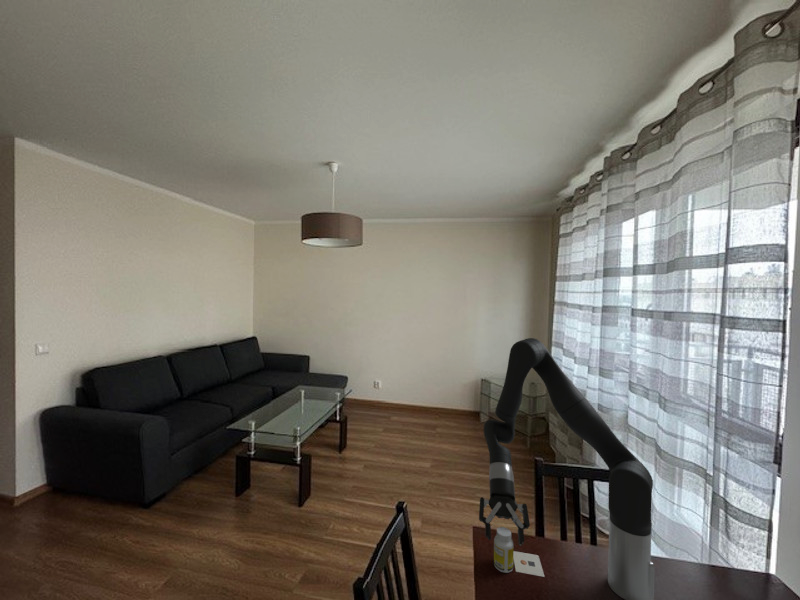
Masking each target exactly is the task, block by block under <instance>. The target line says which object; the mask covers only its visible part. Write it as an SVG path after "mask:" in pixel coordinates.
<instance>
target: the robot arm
mask: <svg viewBox="0 0 800 600" xmlns="http://www.w3.org/2000/svg"><path fill="white" fill-rule="evenodd" d="M531 369H533V370H534V371H535V372H536V374H537V375H538V376H539V377H540V379H541V380H542V382H543V384H544V386H545V388H546V389H547V393H548V396H549V399H550V401H551V404H552V406H553V407H554V409H555V411H556V412H557V414H558V415H559V417H561V419H562V420H563V422H564V423H565V424H566V426H567V427H568V429H570V430H571V431H572V432H573V433H574V434H575V435H576V436H578V437H579V438H580V439H581V440H583V441H584V442H585V443H587V445H590V447H592V449H593V450H595V452H596V453H597V454H598V455H599V456H600V458H601V459H602V460H603V462H604V463H605V465H606V466H607V467H608V470H609V471H610V474H609V478H608V505H607V506H608V511H609V525H608V531H609V532H608V556H607V557H608V558H607V559H608V560H607V583H608V586H609V587H610V589H611V590H612V591H613V593H615V594H616V595H617V596H619V597H620V598H622V599H623V600H655V599H654V598H655V597H654V596H655V595H654V594H655V591H654V590H655V564H654V563H653V561H652V560H651V559H652V554H651V551H652V524H653V523H652V503H653V502H652V501H653V500H652V499H653V498H652V495H653V489H654V488H653V487H654V480H653V476H652V475H651V473H650V471H649V469H647V467H646V466H645V465H644V464H643V463H642V462H641V461H640V460H639V459H638V458H637V457H636V456H635V455H634V454H633V453H632V452H631V451H630V450H629V449H628V448H627V447H626V446H625V445H624V444H623V443H622V442H621V440H619V439H618V437H617V436H616V434H615V433H614V432H613V431H612V429H611V428H610V426H608V424H607V422H605V420H604V419H603V418H602V416H600V414H599V413H598V412H597V410H596V409H595V408H594V407H593V405H592V404H591V403H590V402H589V400H588V399H587V398H586V396H584V394H583V393H582V392H581V391H580V389H578V388H577V386H575V384H574V383H573V382H572V380H571V379H570V378H569V377H568V376H567V375H566V374H565V372H564V371H563V370H562V368H561V367H560V365H558V363H557V361H556V359H554V357H553V356H552V355H551V352H550V351H549V350H548V348H547V347H546V346H545V344H544V343H543V342H542V341H540V340H539V339H537V338H532V337H529V338H528V337H527V338H524V339H521V340H519V341H516V342H515V343H513V345H512V346H511V348H510V351H509V356H508V363H507V367H506V373H505V379H504V383H503V386H502V391H501V393H500V396H499V399H498V402H497V404H496V407H495V415H496V418H498V419H500V420H497V419H493V418H491V419H487V420H486V421H485V422H484V425H483V436H484V439H485V441H486V445H487V449H488V452H489V453H488V454H489V470H488V471H489V473H488V476H489V477H488V479H489V499H487V498H484V497H482V496H481V497H480V498H479V508H478V509H479V512H478V521H479V522H482V523H484V526H485V529H484V531H485V537H486V538H487V540H488V541H492V540H491V539H492V529H491V528H492V527H491V526H492V525H491V522H492V521H493V520H494V518H495V517H496V518H498V519H504V520H510V519H511V521H512V523H513V524H514V525H515V526H516V528H517V540H518V541H517V543H518V546H519V547H520V546H521V547H522V546H523V544H524V543H525V533H524V531H525V530H528V529H529V528H530V526H531V524H530V518H529V510H528V506H527V503H522V504H521V503H517V501H516V492H515V478H514V473H513V464H512V454H511V451H510V449H509V448H508V447H506V446H504V445H502V444H505V445H508V444H510V443H512V442H513V441H514V439H515V433H516V431H515V427H516V419H517V416H518V413H519V410H520V407H521V404H522V400H523V387H524V384H525V381H526V378H527V376H528V374H529V373H530V371H531ZM487 505H488V506H489V508H490V509H491V511H490V513H489V514H488V515H487V517H485V515H484V514H485V511H484V510H485V508H486V507H487ZM517 509H518V510H519V512H520V514H522V520H523V522H522V521H521V520H520V518H519V516H518V515H517V513H516V511H517Z"/></svg>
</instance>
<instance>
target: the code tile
mask: <svg viewBox="0 0 800 600" xmlns="http://www.w3.org/2000/svg"><path fill="white" fill-rule="evenodd" d="M513 565H514V568H515V569H514V570H515V572H516V573H520V574H521V573H522V574H527V575H532V576H537V577H540V578H541V577H544V578H546V577H545V574H544V570H543V566H542V563H541V559H540V556H539V555H537V554H532V553H528V552H527V553H525V552H522V551H521V552H520V551H515V550H514V551H513Z"/></svg>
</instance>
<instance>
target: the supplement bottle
mask: <svg viewBox="0 0 800 600" xmlns="http://www.w3.org/2000/svg"><path fill="white" fill-rule="evenodd" d="M514 546H515V545H514V541H513V539H512V532H511V530H510V529H509V528H507V527H504V526H501V527H498V528H496V535H495V536H494V539H493V565H494V567H495V569H497V570H498V571H499V572H501V573H505V574H508V573H511V572H512V571H513V569H514V559H513V551H515V550H514V549H515V548H514Z"/></svg>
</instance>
